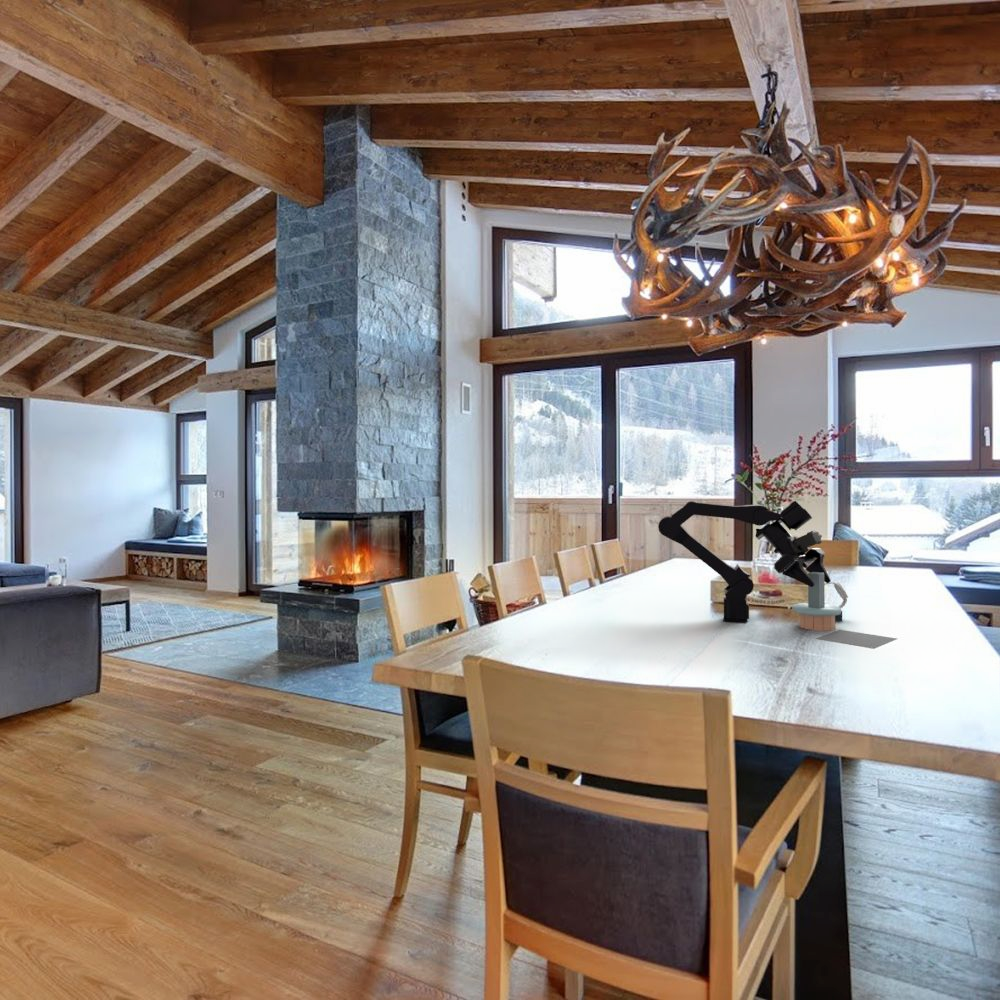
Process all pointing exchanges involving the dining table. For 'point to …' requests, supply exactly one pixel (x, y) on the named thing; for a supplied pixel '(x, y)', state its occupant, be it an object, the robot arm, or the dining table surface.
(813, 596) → the domed base post
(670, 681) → the dining table surface
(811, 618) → the bowl
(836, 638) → the mat
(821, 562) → the robot arm
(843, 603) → the watch
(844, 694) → the dining table surface
